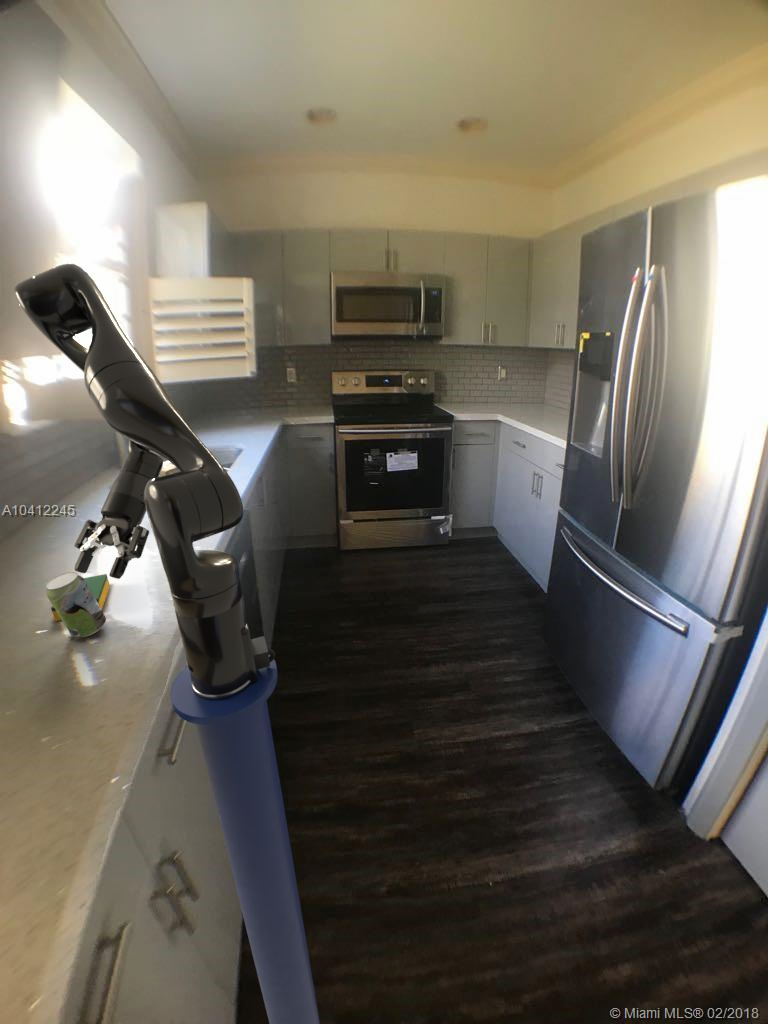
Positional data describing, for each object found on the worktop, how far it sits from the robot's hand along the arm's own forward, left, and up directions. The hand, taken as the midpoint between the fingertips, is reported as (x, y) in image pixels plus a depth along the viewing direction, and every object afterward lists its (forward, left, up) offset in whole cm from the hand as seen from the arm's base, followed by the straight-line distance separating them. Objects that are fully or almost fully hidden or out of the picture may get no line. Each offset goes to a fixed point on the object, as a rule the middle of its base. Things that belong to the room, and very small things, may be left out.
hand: (96, 574), depth 88 cm
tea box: (-13, -59, -9) cm, 62 cm away
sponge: (+6, -7, -9) cm, 13 cm away
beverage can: (+3, +5, -9) cm, 11 cm away
